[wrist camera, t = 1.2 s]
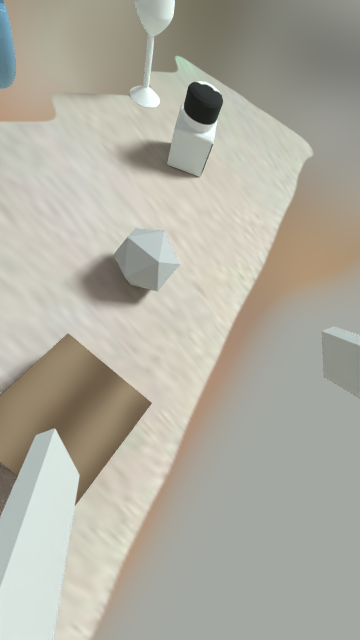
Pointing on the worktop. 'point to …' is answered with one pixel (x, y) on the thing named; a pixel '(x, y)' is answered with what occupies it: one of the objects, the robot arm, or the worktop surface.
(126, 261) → the die
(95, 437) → the walnut block
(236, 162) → the worktop surface
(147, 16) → the champagne flute
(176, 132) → the medicine bottle
